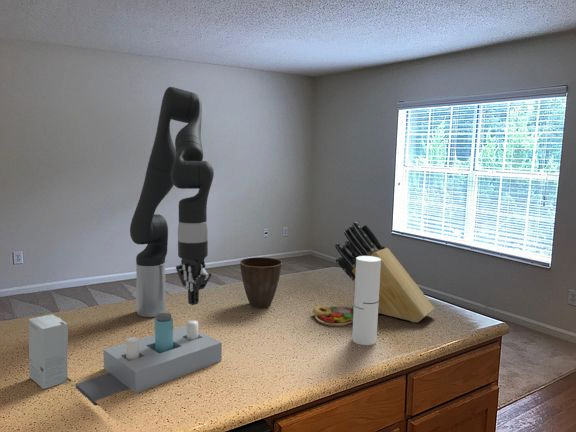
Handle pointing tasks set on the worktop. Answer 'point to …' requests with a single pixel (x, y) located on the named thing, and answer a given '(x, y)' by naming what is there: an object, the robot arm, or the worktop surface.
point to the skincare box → (48, 351)
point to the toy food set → (333, 316)
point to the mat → (100, 387)
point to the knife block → (384, 276)
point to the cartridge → (163, 332)
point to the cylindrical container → (366, 300)
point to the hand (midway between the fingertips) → (193, 303)
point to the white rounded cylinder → (132, 348)
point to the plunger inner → (192, 330)
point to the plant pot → (260, 280)
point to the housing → (162, 360)
